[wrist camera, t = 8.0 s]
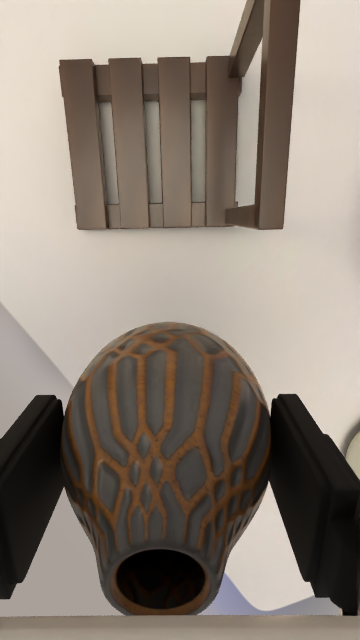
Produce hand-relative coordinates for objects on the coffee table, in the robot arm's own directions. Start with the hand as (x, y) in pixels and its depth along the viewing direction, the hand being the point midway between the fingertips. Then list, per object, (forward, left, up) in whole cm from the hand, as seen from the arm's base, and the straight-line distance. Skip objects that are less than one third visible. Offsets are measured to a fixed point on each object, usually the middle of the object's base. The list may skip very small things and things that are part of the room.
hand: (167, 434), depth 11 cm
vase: (0, 0, -4) cm, 4 cm away
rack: (-1, +12, -22) cm, 25 cm away
